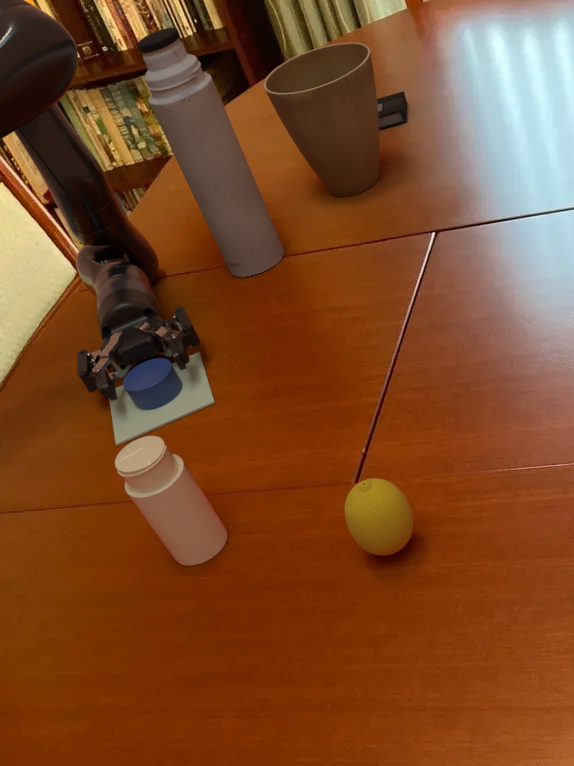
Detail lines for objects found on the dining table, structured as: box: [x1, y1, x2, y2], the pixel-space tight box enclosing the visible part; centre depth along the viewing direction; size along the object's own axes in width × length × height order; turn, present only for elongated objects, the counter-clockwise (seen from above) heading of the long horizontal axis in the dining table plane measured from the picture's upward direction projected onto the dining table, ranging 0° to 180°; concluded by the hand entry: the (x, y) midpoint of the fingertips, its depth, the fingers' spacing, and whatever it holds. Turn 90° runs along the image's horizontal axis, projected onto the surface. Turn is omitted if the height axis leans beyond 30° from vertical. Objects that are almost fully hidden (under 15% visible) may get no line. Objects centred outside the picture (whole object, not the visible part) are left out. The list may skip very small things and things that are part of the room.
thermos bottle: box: [136, 27, 285, 278], centre depth 110 cm, size 8×8×28 cm
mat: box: [108, 351, 216, 447], centre depth 103 cm, size 12×12×1 cm
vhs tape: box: [377, 91, 408, 131], centre depth 141 cm, size 8×14×2 cm, turn 91°
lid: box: [122, 357, 183, 410], centre depth 103 cm, size 6×6×3 cm
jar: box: [114, 435, 228, 567], centre depth 80 cm, size 6×6×12 cm
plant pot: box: [262, 41, 380, 197], centre depth 122 cm, size 15×15×16 cm
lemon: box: [344, 477, 414, 556], centre depth 74 cm, size 6×6×8 cm
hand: (144, 378), depth 99 cm, fingers open, 8 cm apart
